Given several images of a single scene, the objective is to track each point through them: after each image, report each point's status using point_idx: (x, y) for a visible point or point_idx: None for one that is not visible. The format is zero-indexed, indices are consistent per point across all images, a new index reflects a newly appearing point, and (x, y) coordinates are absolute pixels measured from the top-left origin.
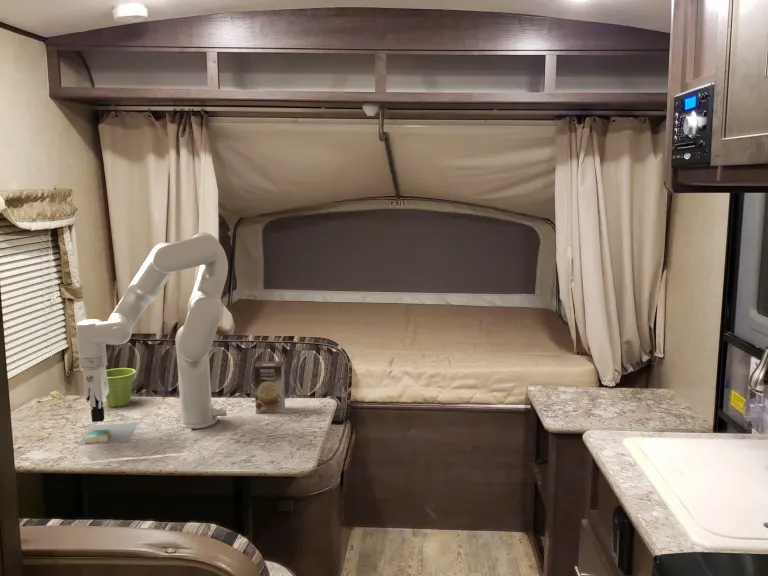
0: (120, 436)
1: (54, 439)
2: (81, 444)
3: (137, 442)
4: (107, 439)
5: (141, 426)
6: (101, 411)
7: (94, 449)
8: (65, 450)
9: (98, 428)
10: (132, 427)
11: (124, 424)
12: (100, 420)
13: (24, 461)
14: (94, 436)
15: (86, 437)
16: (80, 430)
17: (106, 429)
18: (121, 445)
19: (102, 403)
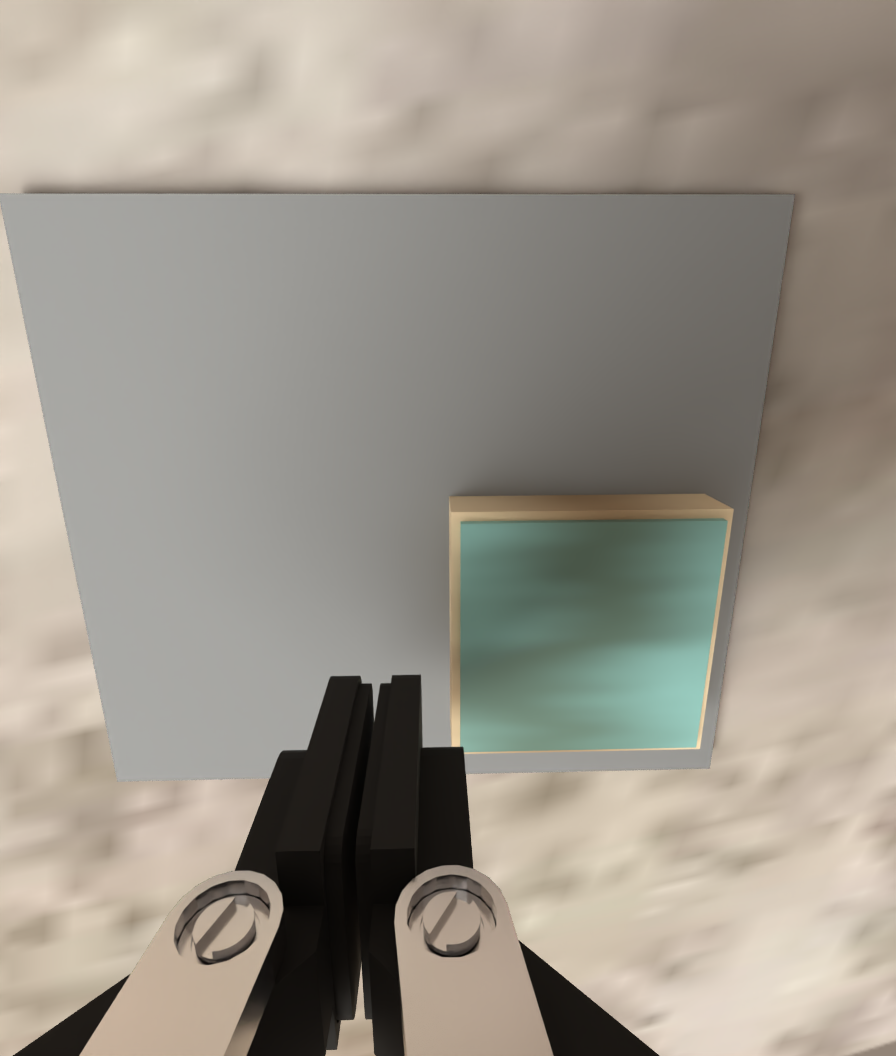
0: (573, 358)
1: None
2: (701, 740)
3: (793, 75)
4: (680, 497)
5: (131, 135)
6: (414, 808)
7: (825, 585)
8: (740, 834)
9: (223, 688)
10: (239, 250)
11: (99, 398)
12: (421, 714)
13: (866, 1039)
14: (689, 660)
15: (693, 739)
16: (206, 844)
17: (269, 592)
18: (821, 295)
19: (177, 948)
